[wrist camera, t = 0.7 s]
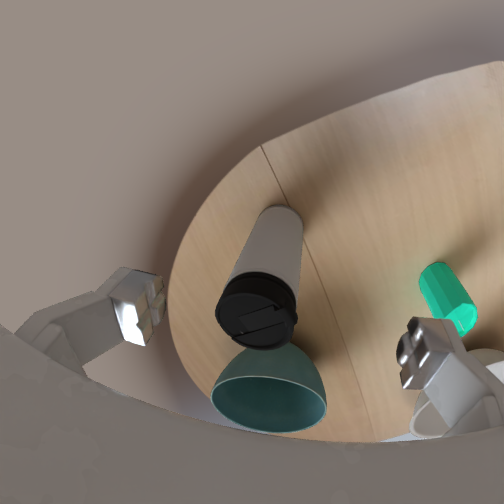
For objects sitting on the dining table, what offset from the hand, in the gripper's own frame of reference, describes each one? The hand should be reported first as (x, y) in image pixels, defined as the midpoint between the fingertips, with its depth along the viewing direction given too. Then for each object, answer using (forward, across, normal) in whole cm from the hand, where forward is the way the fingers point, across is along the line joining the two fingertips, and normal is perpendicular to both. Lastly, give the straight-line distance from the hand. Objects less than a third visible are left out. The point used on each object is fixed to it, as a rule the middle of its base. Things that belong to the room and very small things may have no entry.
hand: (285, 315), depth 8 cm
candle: (+28, -23, +14) cm, 39 cm away
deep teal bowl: (+28, -1, +34) cm, 44 cm away
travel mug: (+28, +2, +9) cm, 30 cm away
